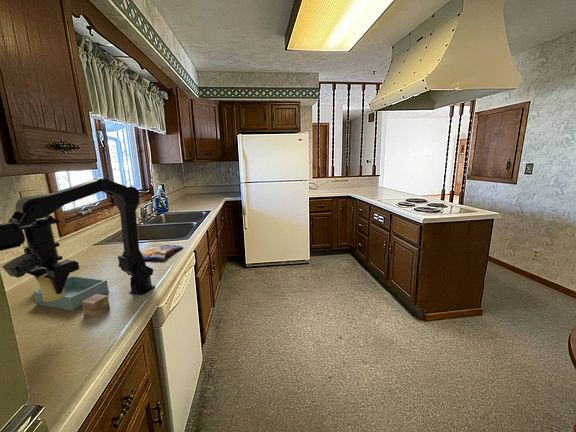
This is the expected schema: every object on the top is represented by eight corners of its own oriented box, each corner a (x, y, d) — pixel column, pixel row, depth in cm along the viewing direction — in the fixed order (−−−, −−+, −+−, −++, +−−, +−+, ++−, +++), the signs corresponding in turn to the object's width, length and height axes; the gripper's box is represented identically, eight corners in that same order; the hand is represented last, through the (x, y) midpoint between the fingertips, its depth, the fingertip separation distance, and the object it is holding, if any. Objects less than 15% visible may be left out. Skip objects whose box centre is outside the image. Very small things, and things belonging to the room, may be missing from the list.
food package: (126, 263, 132) (125, 255, 131) (157, 246, 156) (156, 239, 156) (167, 264, 129) (166, 256, 128) (193, 247, 153) (192, 240, 152)
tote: (74, 287, 107) (72, 275, 106) (108, 292, 102) (106, 280, 101) (36, 304, 95) (33, 291, 93) (73, 311, 90) (70, 297, 89)
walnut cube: (98, 307, 92) (95, 294, 91) (110, 309, 91) (107, 295, 90) (84, 315, 87) (81, 301, 86) (96, 317, 86) (93, 303, 85)
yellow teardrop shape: (58, 291, 83) (53, 270, 81) (69, 294, 81) (64, 272, 79) (39, 300, 78) (33, 277, 77) (50, 303, 76) (44, 280, 75)
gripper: (-17, 247, 72) (-1, 301, 75) (25, 255, 65) (40, 313, 69) (34, 235, 82) (46, 283, 85) (75, 241, 75) (85, 292, 79)
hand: (53, 292), depth 79 cm, fingers closed on yellow teardrop shape, 5 cm apart
